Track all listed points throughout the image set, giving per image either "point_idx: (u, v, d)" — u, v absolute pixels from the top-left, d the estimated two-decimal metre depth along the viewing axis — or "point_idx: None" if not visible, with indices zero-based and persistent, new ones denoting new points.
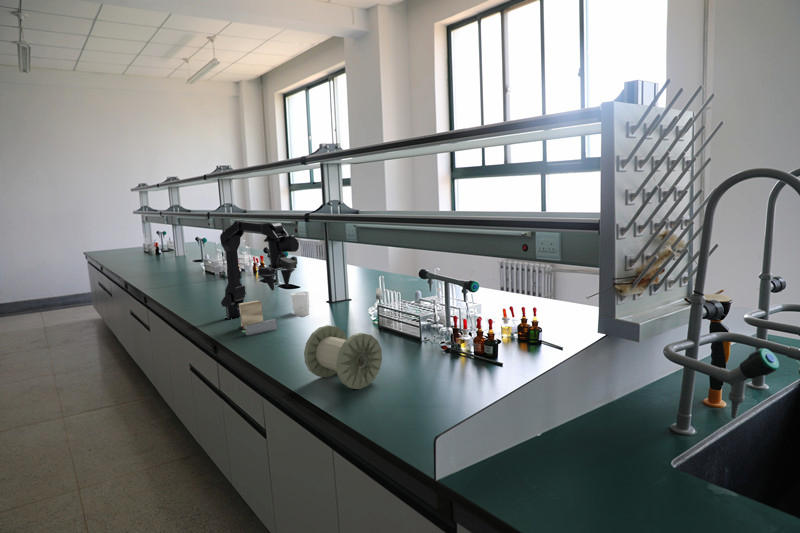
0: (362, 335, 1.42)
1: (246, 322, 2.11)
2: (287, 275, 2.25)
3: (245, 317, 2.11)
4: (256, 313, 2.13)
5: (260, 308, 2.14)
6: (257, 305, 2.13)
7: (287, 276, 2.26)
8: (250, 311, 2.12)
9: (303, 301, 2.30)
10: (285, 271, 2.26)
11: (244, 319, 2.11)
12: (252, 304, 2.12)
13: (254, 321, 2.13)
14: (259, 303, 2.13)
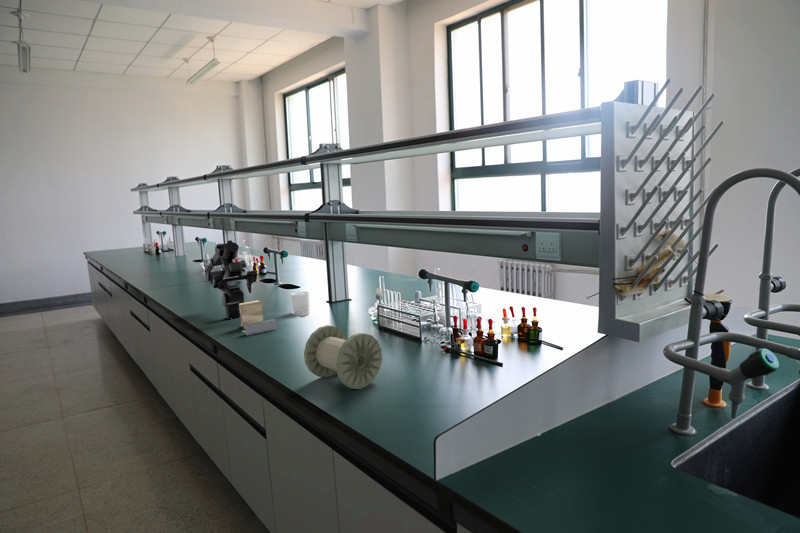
0: (362, 335, 1.42)
1: (246, 322, 2.11)
2: (248, 283, 2.27)
3: (245, 317, 2.11)
4: (256, 313, 2.13)
5: (260, 308, 2.14)
6: (257, 305, 2.13)
7: (248, 284, 2.27)
8: (250, 311, 2.12)
9: (303, 301, 2.30)
10: (247, 281, 2.29)
11: (244, 319, 2.11)
12: (252, 304, 2.12)
13: (254, 321, 2.13)
14: (259, 303, 2.13)
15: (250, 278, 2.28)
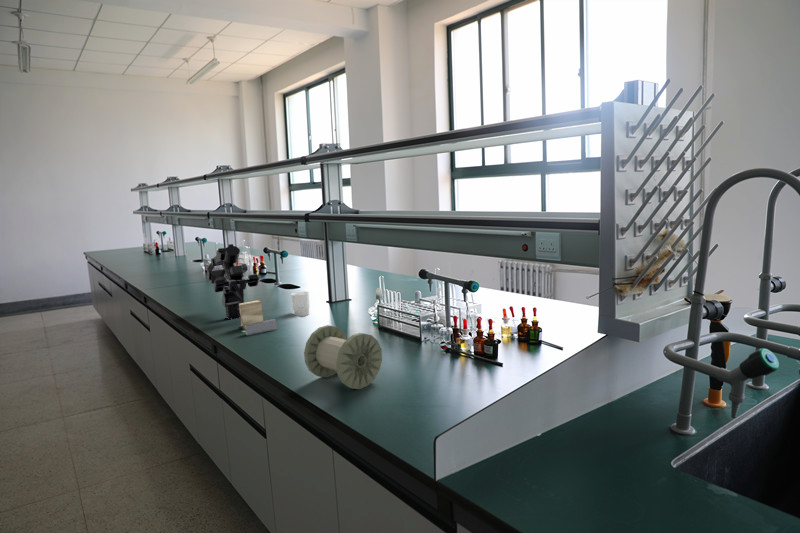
0: (362, 335, 1.42)
1: (246, 322, 2.11)
2: (240, 288, 2.24)
3: (245, 317, 2.11)
4: (256, 313, 2.13)
5: (260, 308, 2.14)
6: (257, 305, 2.13)
7: (240, 289, 2.24)
8: (250, 311, 2.12)
9: (303, 301, 2.30)
10: (239, 286, 2.26)
11: (244, 319, 2.11)
12: (252, 304, 2.12)
13: (254, 321, 2.13)
14: (259, 303, 2.13)
15: (242, 283, 2.24)
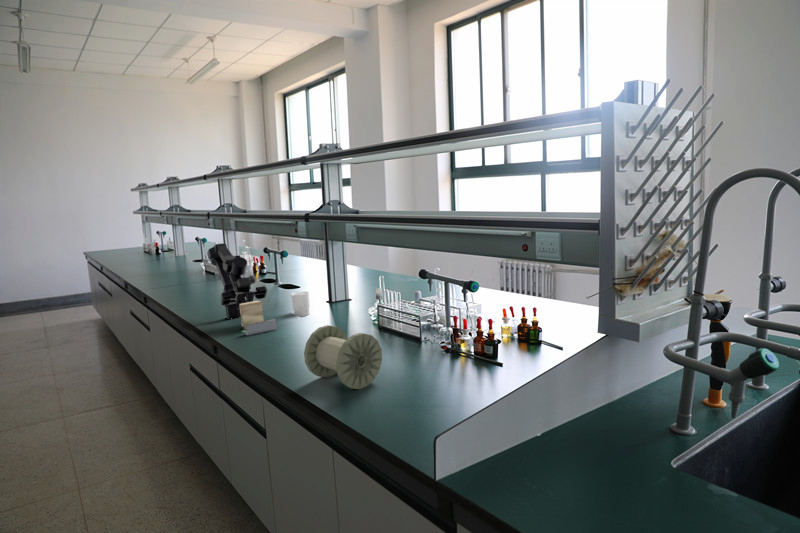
0: (362, 335, 1.42)
1: (246, 322, 2.11)
2: (247, 301, 2.17)
3: (245, 317, 2.10)
4: (257, 313, 2.13)
5: (260, 308, 2.13)
6: (257, 305, 2.12)
7: None
8: (250, 311, 2.11)
9: (303, 301, 2.30)
10: (246, 299, 2.19)
11: (244, 319, 2.10)
12: (252, 304, 2.11)
13: (254, 321, 2.12)
14: (259, 303, 2.13)
15: (250, 296, 2.17)
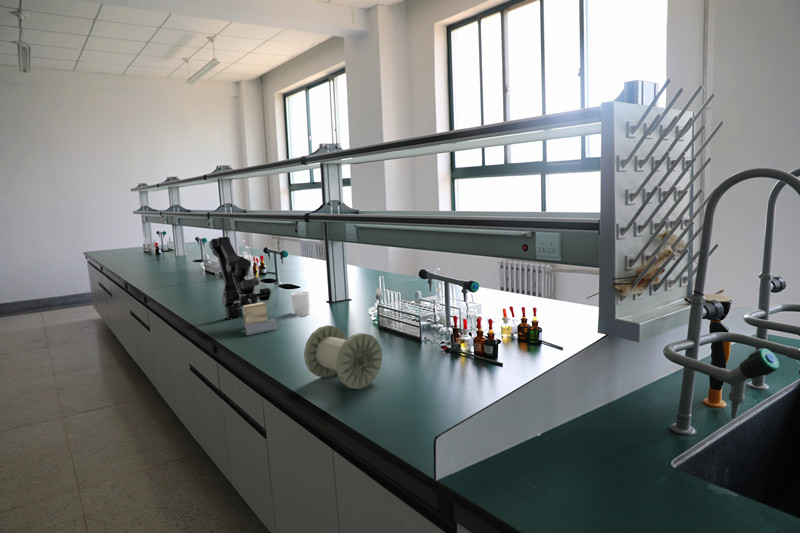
0: (362, 335, 1.42)
1: None
2: (251, 303, 2.13)
3: (249, 319, 2.06)
4: (261, 315, 2.09)
5: (264, 310, 2.09)
6: (261, 307, 2.08)
7: None
8: (254, 313, 2.07)
9: (303, 301, 2.30)
10: (250, 301, 2.15)
11: (248, 321, 2.06)
12: (256, 306, 2.07)
13: None
14: (263, 305, 2.09)
15: (253, 298, 2.13)
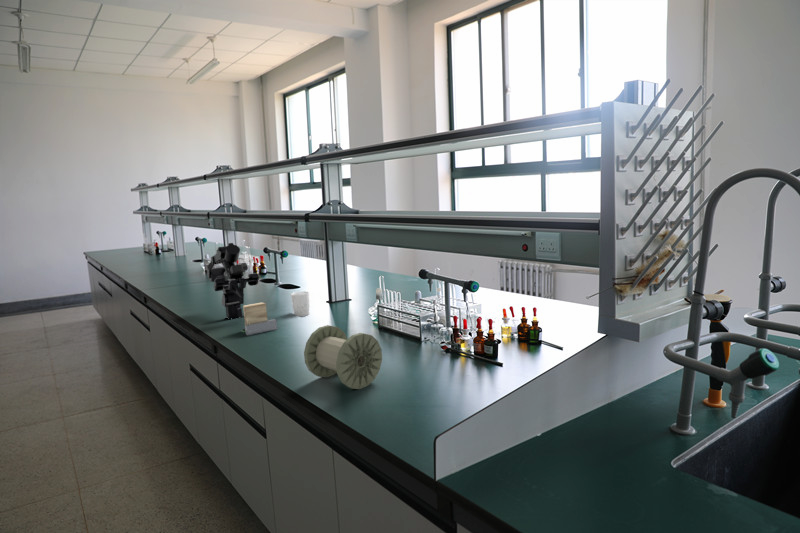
0: (362, 335, 1.42)
1: None
2: (240, 287, 2.24)
3: (249, 319, 2.06)
4: (261, 315, 2.09)
5: (264, 310, 2.09)
6: (261, 307, 2.08)
7: (240, 288, 2.23)
8: (254, 313, 2.07)
9: (303, 301, 2.30)
10: (239, 285, 2.25)
11: (248, 321, 2.06)
12: (256, 306, 2.07)
13: None
14: (263, 305, 2.09)
15: (242, 282, 2.24)
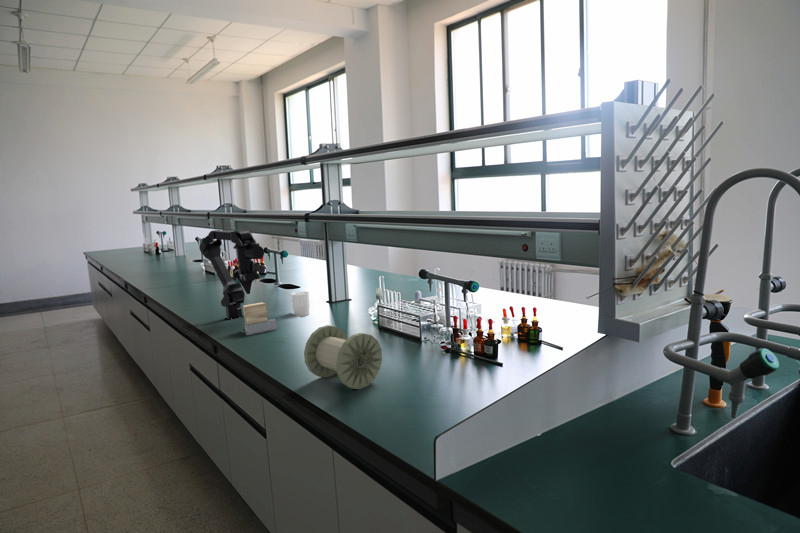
0: (362, 335, 1.42)
1: None
2: None
3: (249, 319, 2.06)
4: (261, 315, 2.09)
5: (264, 310, 2.09)
6: (261, 307, 2.08)
7: None
8: (254, 313, 2.07)
9: (303, 301, 2.30)
10: None
11: (248, 321, 2.06)
12: (256, 306, 2.07)
13: None
14: (263, 305, 2.09)
15: None
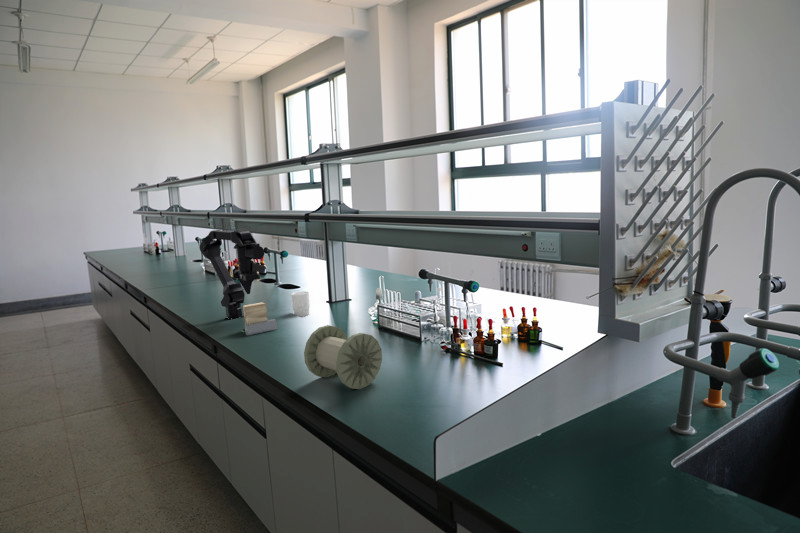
0: (362, 335, 1.42)
1: None
2: None
3: (249, 319, 2.06)
4: (261, 315, 2.09)
5: (264, 310, 2.09)
6: (261, 307, 2.08)
7: None
8: (254, 313, 2.07)
9: (303, 301, 2.30)
10: None
11: (248, 321, 2.06)
12: (256, 306, 2.07)
13: None
14: (263, 305, 2.09)
15: None
